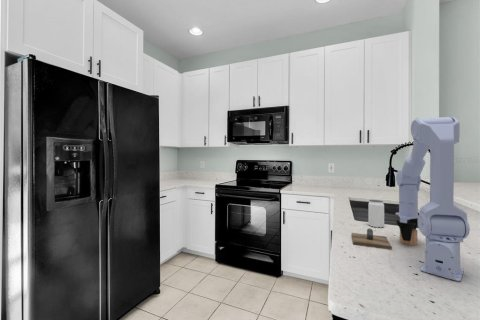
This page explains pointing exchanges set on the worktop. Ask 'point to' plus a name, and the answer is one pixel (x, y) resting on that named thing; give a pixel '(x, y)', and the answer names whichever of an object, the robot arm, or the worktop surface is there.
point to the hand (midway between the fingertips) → (408, 238)
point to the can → (376, 213)
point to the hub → (413, 238)
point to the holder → (371, 240)
